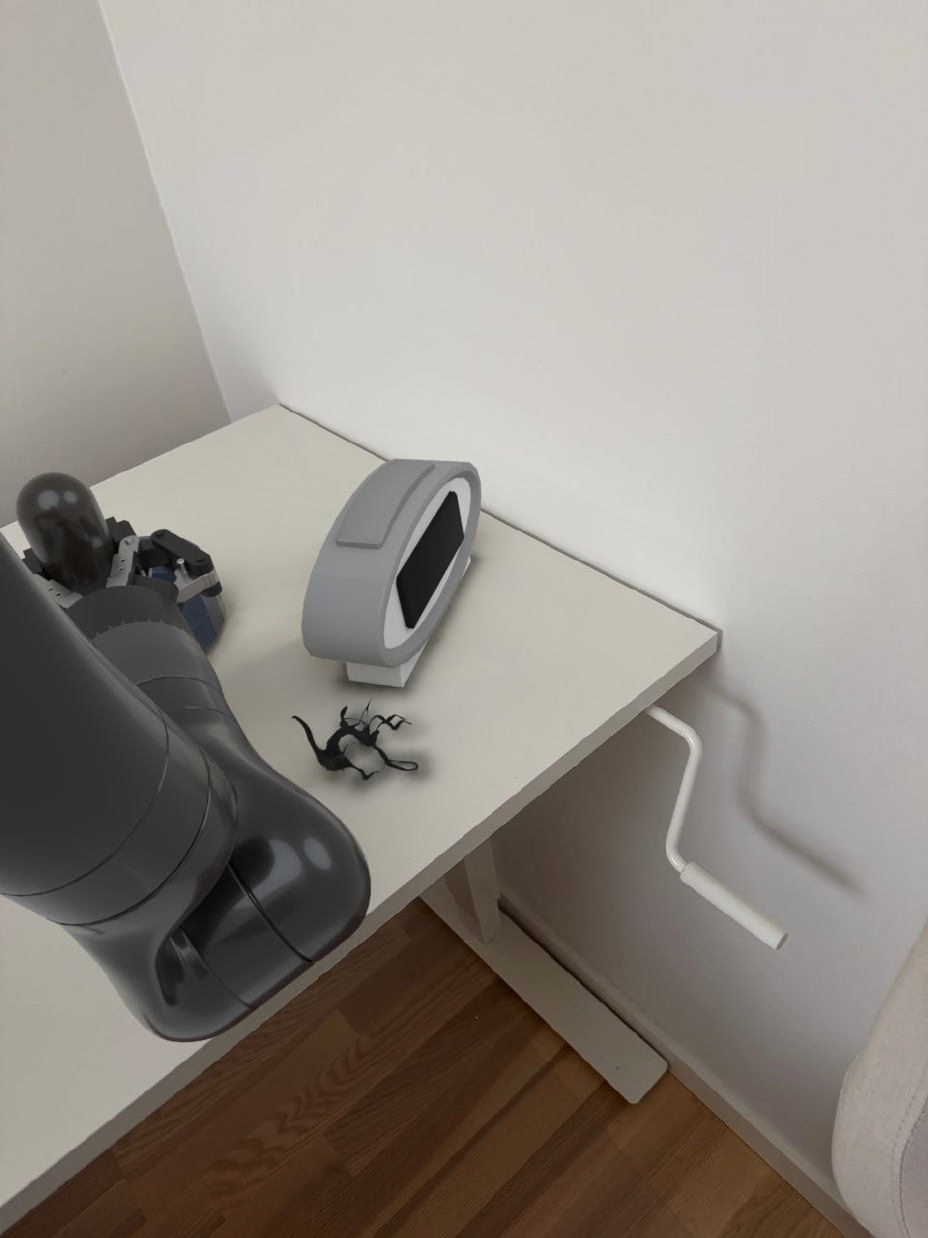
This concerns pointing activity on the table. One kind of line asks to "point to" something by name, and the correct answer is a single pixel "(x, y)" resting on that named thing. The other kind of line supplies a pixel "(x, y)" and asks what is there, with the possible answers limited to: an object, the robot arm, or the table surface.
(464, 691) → the table surface
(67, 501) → the two-tone capsule
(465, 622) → the table surface
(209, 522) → the table surface
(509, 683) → the table surface
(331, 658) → the alarm clock
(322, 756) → the creature
